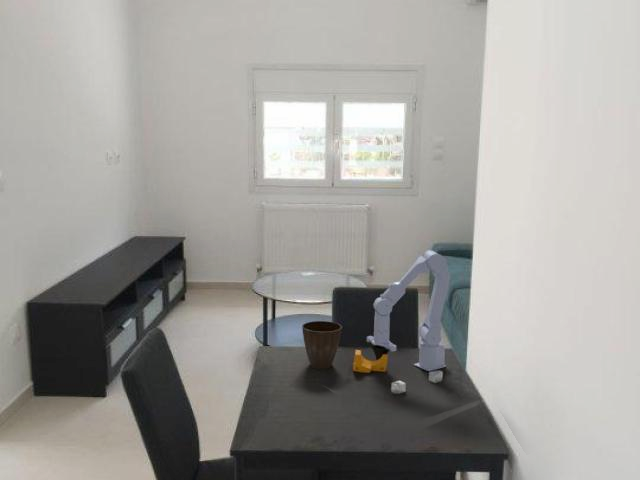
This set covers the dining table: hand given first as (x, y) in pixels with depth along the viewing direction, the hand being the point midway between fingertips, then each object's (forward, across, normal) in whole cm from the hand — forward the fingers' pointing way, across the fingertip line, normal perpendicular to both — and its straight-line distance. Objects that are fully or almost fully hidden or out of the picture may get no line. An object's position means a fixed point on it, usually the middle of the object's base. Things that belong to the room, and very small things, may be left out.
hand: (380, 364), depth 224 cm
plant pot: (+2, -14, -17) cm, 22 cm away
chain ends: (+2, +19, 0) cm, 19 cm away
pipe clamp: (+1, -1, -5) cm, 5 cm away
